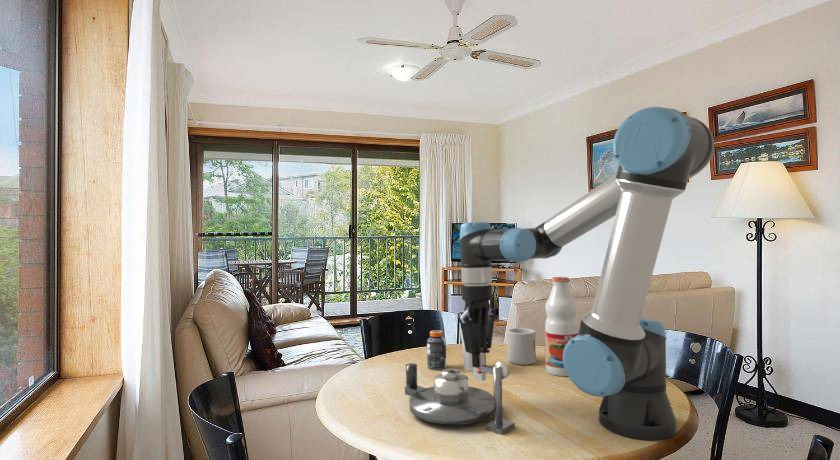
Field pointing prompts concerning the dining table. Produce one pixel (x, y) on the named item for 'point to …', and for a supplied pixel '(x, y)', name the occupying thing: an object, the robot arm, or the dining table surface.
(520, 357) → the mug
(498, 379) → the indicator
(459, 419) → the turntable
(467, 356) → the cup
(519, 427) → the dining table surface
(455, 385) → the cover
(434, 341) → the pill bottle
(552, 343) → the fruit juice
